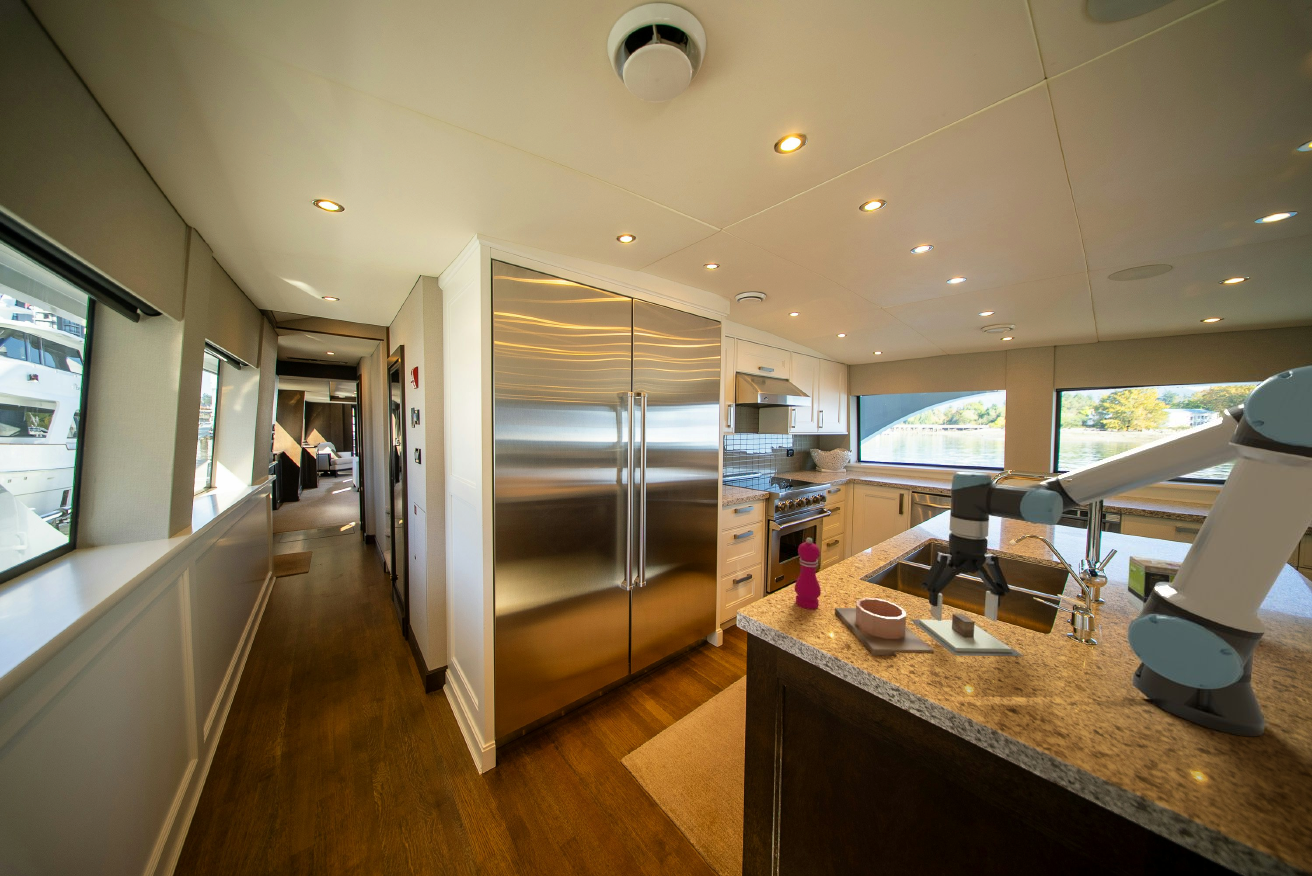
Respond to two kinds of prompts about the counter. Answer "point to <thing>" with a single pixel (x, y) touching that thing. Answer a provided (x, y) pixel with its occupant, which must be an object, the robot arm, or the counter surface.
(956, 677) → the counter surface
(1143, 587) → the tea box
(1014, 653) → the mat
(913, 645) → the board
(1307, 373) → the robot arm
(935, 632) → the lid
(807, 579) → the pepper mill
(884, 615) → the bowl
